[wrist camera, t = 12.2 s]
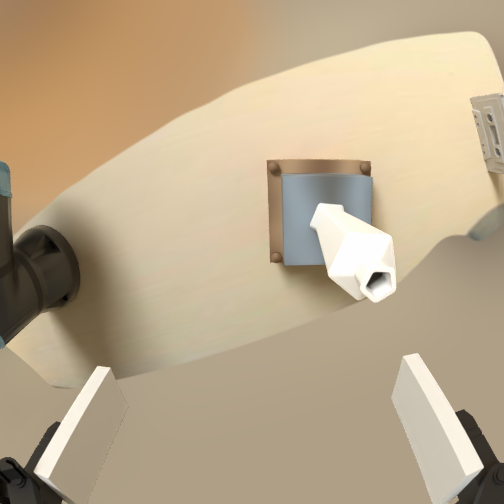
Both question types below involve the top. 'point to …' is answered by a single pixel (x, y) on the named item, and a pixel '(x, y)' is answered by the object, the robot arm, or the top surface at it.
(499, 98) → the cassette
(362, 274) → the perfume bottle
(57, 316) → the top surface
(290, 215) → the blue block on board
